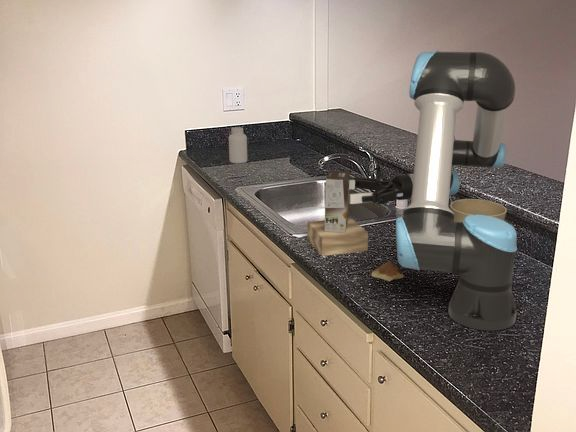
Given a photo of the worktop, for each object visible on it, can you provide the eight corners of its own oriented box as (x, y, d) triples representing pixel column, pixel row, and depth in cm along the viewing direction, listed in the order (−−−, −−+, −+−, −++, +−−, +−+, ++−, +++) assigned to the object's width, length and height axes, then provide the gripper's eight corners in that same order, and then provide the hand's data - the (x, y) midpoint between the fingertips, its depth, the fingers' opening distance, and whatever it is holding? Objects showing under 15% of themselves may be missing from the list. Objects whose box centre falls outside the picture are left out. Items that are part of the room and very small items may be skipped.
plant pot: (458, 273, 177) (463, 217, 172) (437, 252, 191) (441, 200, 186) (510, 269, 179) (517, 214, 174) (486, 249, 193) (491, 197, 188)
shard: (390, 264, 184) (390, 258, 183) (415, 271, 179) (415, 265, 179) (370, 277, 176) (370, 271, 175) (395, 284, 171) (395, 278, 171)
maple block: (367, 252, 192) (368, 233, 191) (321, 257, 189) (322, 237, 187) (350, 235, 205) (351, 217, 203) (307, 240, 202) (307, 221, 200)
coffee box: (346, 233, 190) (348, 179, 185) (323, 231, 191) (325, 178, 186) (348, 222, 199) (350, 171, 194) (327, 221, 200) (328, 170, 195)
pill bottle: (225, 162, 292) (224, 128, 287) (237, 158, 298) (236, 125, 293) (239, 164, 287) (238, 130, 283) (251, 161, 294) (250, 127, 289)
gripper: (426, 211, 188) (356, 218, 182) (391, 187, 210) (327, 192, 205) (428, 186, 185) (357, 192, 180) (392, 164, 208) (328, 169, 203)
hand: (341, 192), depth 192 cm, fingers open, 13 cm apart
